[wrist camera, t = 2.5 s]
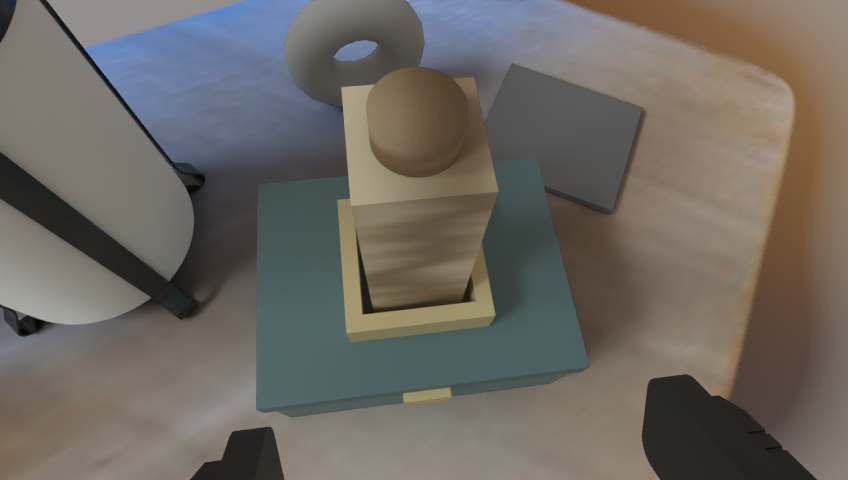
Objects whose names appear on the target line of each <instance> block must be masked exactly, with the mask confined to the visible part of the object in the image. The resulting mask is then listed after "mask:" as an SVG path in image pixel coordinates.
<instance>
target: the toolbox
mask: <svg viewBox="0 0 848 480" xmlns="http://www.w3.org/2000/svg"><path fill="white" fill-rule="evenodd" d="M492 164H493V168H494V173H495V178H496V182H497V187H498V194H497V197H496V200H495V203H494V206H493V209H492V212H491V215H490V218H489V221H488V224H487V227H486V230H485V233H484V236H483V239H482V242H481V245H480V248H479V251H478V254H477V257H476V260H475V263H474V266H473V269H472V272H471V275H470V278H469V281H468V284H467V287H466V290H465V293H464V296H463V299H462V301H461V303H459V304H450V305H442V306H433V307H424V308H416V309H407V310H398V311H390V312H381V313H374V311H373V306H372V302H371V297H370V292H369V288H368V283H367V279H366V274H365V269H364V265H363V260H362V256H361V251H360V246H359V242H358V237H357V232H356V228H355V223H354V219H353V214H352V209H351V202H350V190H349V177H348V175H346V176H335V177H325V178H314V179H303V180H293V181H282V182H271V183H261V184H257V381H256V410H259V411H261V412H264V413H266V412H274V411H277V412H280V413H282V414H284V415H287V416H289V417H297V416H305V415H312V414H320V413H328V412H335V411H343V410H351V409H358V408H366V407H374V406H381V405H389V404H397V403H404V407H407V406H415V405H422V404H430V403H438V402H445V401H449V400H450V398H451V397H452V396H458V395H466V394H473V393H481V392H489V391H496V390H504V389H512V388H519V387H527V386H534V385H542V384H549V383H551V382H553V381H555V380H556V379H558V378H560V377H562V376H563V375H565V374H567V373H575V372H581V371H583V370H585V369H587V368H589V367H590V365H589V361H588V357H587V353H586V349H585V345H584V342H583V338H582V334H581V330H580V326H579V322H578V318H577V314H576V310H575V306H574V302H573V299H572V295H571V291H570V287H569V283H568V279H567V275H566V271H565V267H564V263H563V260H562V256H561V252H560V248H559V244H558V240H557V236H556V232H555V228H554V224H553V220H552V217H551V213H550V209H549V205H548V201H547V197H546V193H545V189H544V185H543V181H542V177H541V174H540V170H539V166H538V162H537V158H528V159H517V160H506V161H496V162H492Z"/></svg>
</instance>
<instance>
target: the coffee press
mask: <svg viewBox="0 0 848 480" xmlns="http://www.w3.org/2000/svg"><path fill="white" fill-rule="evenodd" d="M168 163H169V164H170V165H171V166H172V167H174V168H175V169H176V170H177V171H179V172H180V173H182V174H187V175H189V176H188V177H187V178H185V179H183V180H180V179H179V177H178V176H177V175H176V173H175V172H174V171H173V169H172V168H171V167H170V165H169V164H168ZM204 182H205V176H204V175H203V174H202V173H201V172H200V171H198V170H197V169H196V168H195V167H193V166H192V165H191V164H189V163H174V162H172V161H171V160H170V158H169V157H168V156H167V155H166V153H165V152H164V151H163V150H162V148H161V147H160V146H159V144H158V143H157V142H156V141H155V139H154V138H153V137H152V135H151V134H150V133H149V132H148V130H147V129H146V128H145V126H144V125H143V124H142V123H141V121H140V120H139V119H138V118H137V116H136V115H135V114H134V112H133V111H132V110H131V109H130V107H129V106H128V105H127V103H126V102H125V101H124V100H123V98H122V97H121V96H120V94H119V93H118V92H117V91H116V89H115V88H114V87H113V85H112V84H111V83H110V82H109V80H108V79H107V78H106V76H105V75H104V74H103V72H102V71H101V70H100V69H99V67H98V66H97V65H96V63H95V62H94V61H93V60H92V58H91V57H90V56H89V54H88V53H87V52H86V51H85V49H84V48H83V47H82V45H81V44H80V43H79V42H78V40H77V39H76V38H75V36H74V35H73V34H72V33H71V31H70V30H69V29H68V28H67V26H66V25H65V24H64V22H63V21H62V20H61V18H60V17H59V16H58V15H57V13H56V12H55V11H54V9H53V8H52V7H51V6H50V4H49V3H48V2H47V1H46V0H0V307H2V308H3V310H4V320H5V322H6V323H7V324H8V325H9V326H10V327H11V328H12V329H13V330H14V331H15V332H16V333H17V334H18V335H19V336H23V337H24V336H29V335H32V334H34V333H35V332H37V331H38V330H39V329H41V328H42V326H43V325H44V323H45V321H48V322H52V323H58V324H69V325H77V324H89V323H95V322H100V321H104V320H108V319H111V318H114V317H117V316H120V315H122V314H124V313H127V312H129V311H131V310H133V309H135V308H136V307H138V306H140V305H141V304H143V303H144V302H146V301H147V300H149V299H150V298H153V299H154V300H155V301H157V302H158V303H159V304H161V305H162V306H163V307H165V308H166V309H167V310H168V311H170V312H171V313H172V314H173V315H175V316H176V317H177V318H179V319H180V320H182V319H183V318H184V317H185V316H186V315H187V314H188V313H189V312H190V311H191V310H192V309H193V308H194V307H195V306H196V305H197V304H196V303H195V302H194V301H193V300H192V299H191V298H189V297H188V296H187V295H186V294H185V293H184V292H182V291H181V290H180V289H179V288H178V287H176V286H175V285H174V284H173V283H172V282H171V281H170V280H171V278H172V277H173V276H174V275H175V273H176V272H177V270H178V269H179V267H180V266H181V264H182V262H183V261H184V259H185V257H186V254H187V252H188V250H189V247H190V244H191V240H192V236H193V229H194V213H193V206H192V202H191V199H190V196H189V194H188V193H189V192H194V191H196V190H198V189H199V188H201V187H202V185H203V184H204ZM14 310H16V311H18V312H21V313H24V314H26V315H27V316H26V317H24V318H23V319H21V320H18V316H17V313H16V312H15V311H14Z"/></svg>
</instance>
